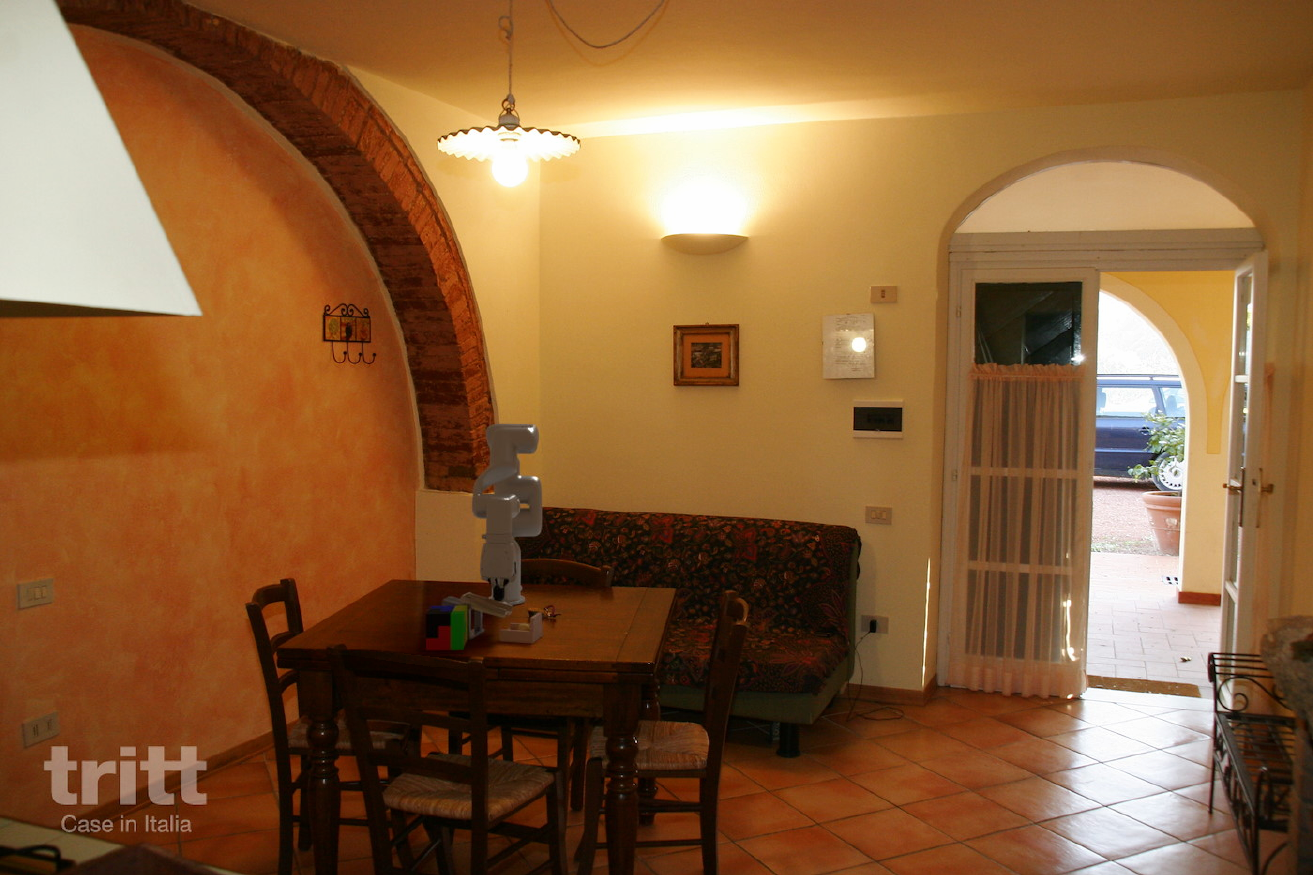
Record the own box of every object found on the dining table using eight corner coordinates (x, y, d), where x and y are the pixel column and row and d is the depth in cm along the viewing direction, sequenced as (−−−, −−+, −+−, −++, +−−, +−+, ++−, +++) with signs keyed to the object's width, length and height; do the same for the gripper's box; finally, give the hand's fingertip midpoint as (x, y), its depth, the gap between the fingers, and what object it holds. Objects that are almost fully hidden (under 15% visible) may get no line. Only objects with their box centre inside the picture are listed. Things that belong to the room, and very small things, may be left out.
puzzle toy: (431, 640, 267) (431, 605, 266) (467, 640, 267) (467, 605, 267) (426, 650, 257) (425, 614, 256) (463, 649, 257) (463, 613, 257)
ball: (534, 630, 271) (524, 636, 271) (527, 619, 271) (517, 626, 272) (529, 633, 267) (519, 639, 268) (522, 622, 267) (513, 629, 268)
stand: (474, 630, 278) (474, 596, 278) (484, 631, 277) (484, 597, 277) (460, 638, 268) (460, 604, 268) (470, 639, 268) (470, 604, 267)
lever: (457, 604, 283) (461, 582, 283) (516, 621, 279) (521, 599, 279) (438, 613, 272) (443, 590, 271) (500, 631, 268) (505, 608, 267)
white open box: (511, 633, 275) (511, 609, 275) (542, 635, 273) (542, 612, 272) (499, 641, 267) (499, 616, 266) (532, 643, 264) (532, 618, 264)
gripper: (470, 539, 275) (469, 601, 275) (518, 541, 271) (518, 604, 272) (480, 536, 282) (480, 596, 283) (527, 538, 279) (527, 599, 279)
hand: (498, 600), depth 277 cm, fingers closed
